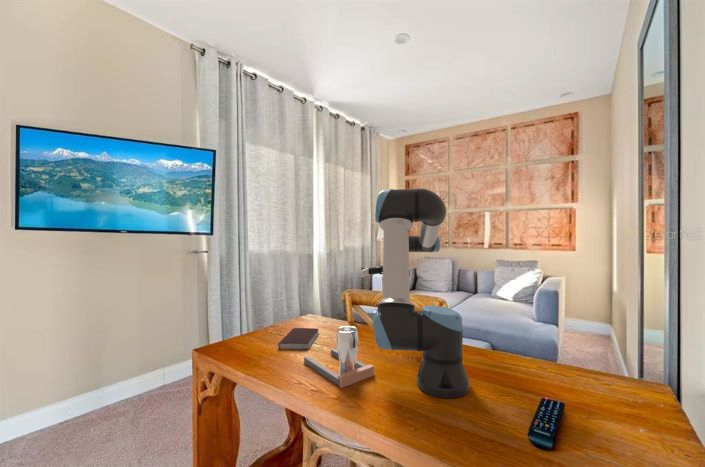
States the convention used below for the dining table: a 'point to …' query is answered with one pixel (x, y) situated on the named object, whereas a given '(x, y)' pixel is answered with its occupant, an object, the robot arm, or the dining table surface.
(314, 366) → the guide channel
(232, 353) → the dining table surface
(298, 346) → the book
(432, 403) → the dining table surface
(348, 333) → the shiny metal tumbler
